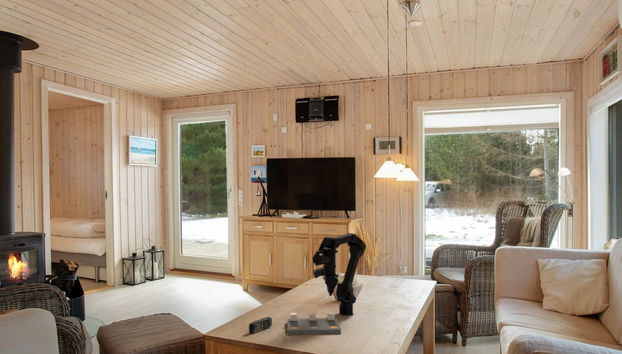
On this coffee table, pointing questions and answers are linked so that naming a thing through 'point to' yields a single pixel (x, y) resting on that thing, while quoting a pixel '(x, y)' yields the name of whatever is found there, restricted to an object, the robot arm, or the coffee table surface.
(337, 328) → the switch plate
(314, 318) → the tab middle
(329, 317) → the tab
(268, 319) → the mobile phone
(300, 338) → the coffee table surface
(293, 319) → the tab
